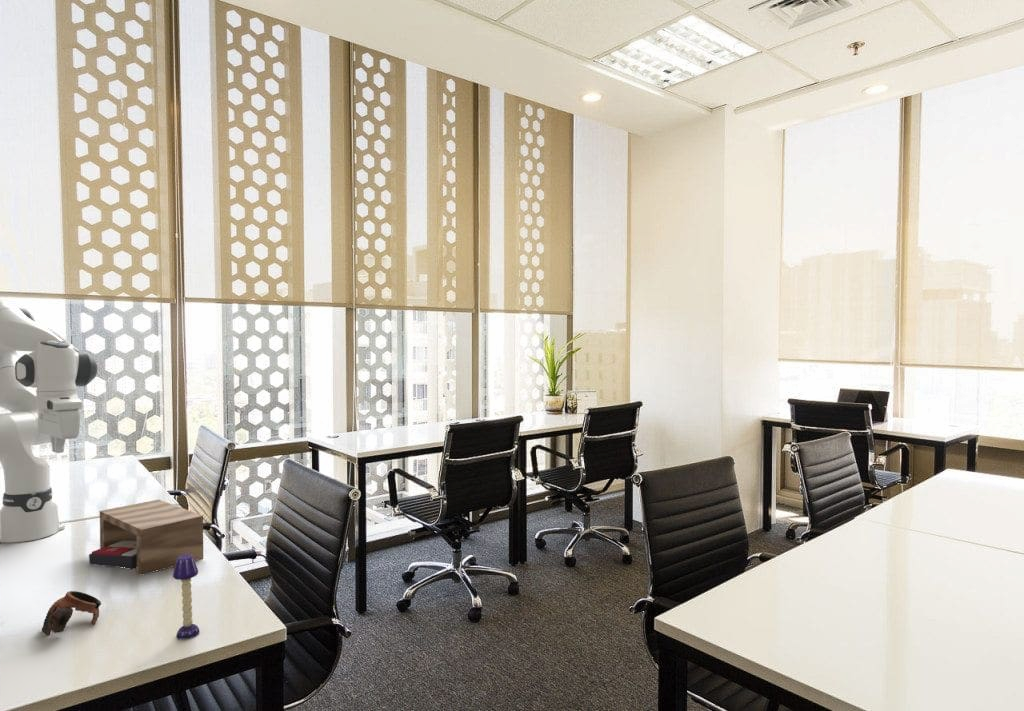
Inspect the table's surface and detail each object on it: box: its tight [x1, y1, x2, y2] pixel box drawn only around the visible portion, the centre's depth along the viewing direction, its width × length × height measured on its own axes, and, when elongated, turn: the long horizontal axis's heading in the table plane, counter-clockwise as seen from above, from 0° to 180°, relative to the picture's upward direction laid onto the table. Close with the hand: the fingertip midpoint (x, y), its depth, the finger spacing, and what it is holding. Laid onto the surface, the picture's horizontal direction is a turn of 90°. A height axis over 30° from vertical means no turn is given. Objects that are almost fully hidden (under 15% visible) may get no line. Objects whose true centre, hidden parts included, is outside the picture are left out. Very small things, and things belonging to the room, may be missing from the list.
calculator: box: [88, 541, 137, 570], centre depth 171 cm, size 11×4×15 cm
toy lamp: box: [172, 554, 201, 640], centre depth 128 cm, size 5×5×17 cm
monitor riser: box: [99, 499, 204, 576], centre depth 174 cm, size 28×16×12 cm, turn 53°
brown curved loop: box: [41, 590, 102, 637], centre depth 130 cm, size 12×10×8 cm
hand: (58, 452), depth 165 cm, fingers closed
